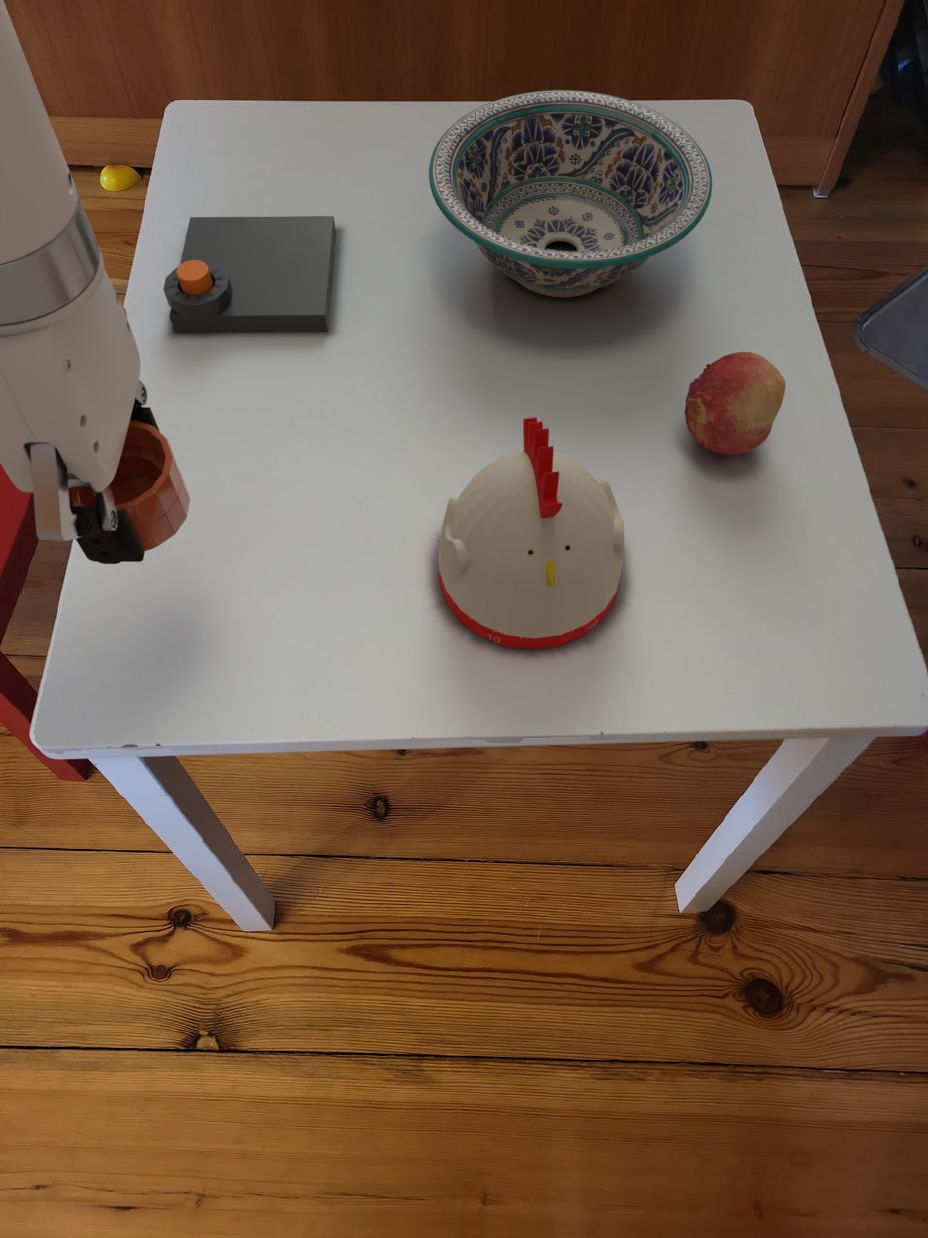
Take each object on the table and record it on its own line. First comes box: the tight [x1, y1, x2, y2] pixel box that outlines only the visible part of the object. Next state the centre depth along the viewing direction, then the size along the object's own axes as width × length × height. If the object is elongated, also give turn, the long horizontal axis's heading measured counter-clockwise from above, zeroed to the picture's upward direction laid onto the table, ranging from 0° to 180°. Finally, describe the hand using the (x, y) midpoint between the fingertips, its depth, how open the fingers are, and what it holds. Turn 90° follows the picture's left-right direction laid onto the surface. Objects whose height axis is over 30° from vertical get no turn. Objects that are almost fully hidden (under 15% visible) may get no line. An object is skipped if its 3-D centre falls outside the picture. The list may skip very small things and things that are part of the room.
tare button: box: [176, 260, 213, 296], centre depth 81 cm, size 3×3×2 cm
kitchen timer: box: [438, 416, 625, 650], centre depth 64 cm, size 14×14×15 cm
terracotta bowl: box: [70, 419, 191, 552], centre depth 53 cm, size 7×7×5 cm
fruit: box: [684, 351, 786, 456], centre depth 73 cm, size 8×8×8 cm
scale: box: [163, 215, 337, 334], centre depth 85 cm, size 14×14×4 cm
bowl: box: [428, 89, 713, 298], centre depth 84 cm, size 25×25×10 cm
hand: (129, 503), depth 54 cm, fingers closed on terracotta bowl, 6 cm apart
